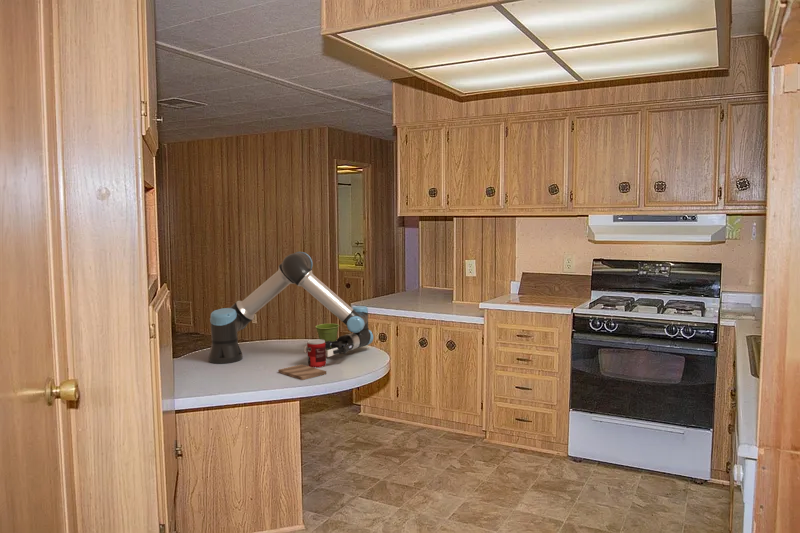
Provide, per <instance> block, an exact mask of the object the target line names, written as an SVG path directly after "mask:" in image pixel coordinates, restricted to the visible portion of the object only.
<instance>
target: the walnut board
mask: <svg viewBox="0 0 800 533" xmlns="http://www.w3.org/2000/svg"><path fill="white" fill-rule="evenodd" d="M278 374H282V375H285V376H289V377H291V378H295V379H298V380H301V381H304V380H308V379H309V380H310V379H312V378H316V377H320V375H321V376H325V375H327V370H323V369H320V368H318V367H316V368H315V367H310V366H309V365H306V364H297V365H294V366H289V367H288V366H287V367H283V368H279V369H278ZM324 374H325V375H324Z"/></svg>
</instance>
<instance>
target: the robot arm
mask: <svg viewBox="0 0 800 533" xmlns="http://www.w3.org/2000/svg"><path fill="white" fill-rule="evenodd" d="M313 264H314V263H313V259H312V257H311V256H310V255H309V254H307V252H303V251H296V252H294V253H290V254H287V255H286V256H285V257H284V259H283V260H282V262H281V263H280V264H279V265H278V270H277V271H276V272H275V273H274V274H272V275H271V276H270V277H269V278H267V280H265V281H264V282H263V283H262V284H261V285H259V286H258V287H257V288H256V289H255V290H253V291H252V292H251V293H250V294H249V295H247V296H246V297H245V298H244V299H243V300H237V301H236V302H234V303H233V304H232V305H231V306H230V307H224V308H223V307H222V308H219V309H215V310H213V311H212V312H211V313H210V318H209V322H210V332H211V334H210V336H211V348H210V351H209V354H208V362H209V363H211V364H229V363H236V362H239V361H241V360H242V359H243V352H242V350H241V347H240V345H239V340H238V339H239V338H238V332H240V331H242V330H243V329H245V328H246V327H247V326H248V324H249V323H250V322H252V321H253V320H254V318H255V314H256V313H258V312H259V311H260V310H261V309H262V308H263V307H265V306H266V305H267V304H269V302H270V301H272V300H273V299H274V298H275V297H276V296H278V295H279V294H280V293H281V292H283V290H285V289H286V288H287V287H289V285H292V284H293V285H296V286H297V287H302V288H303V289H304V290H305V291H306V292H307V293H308V294H310V295H311V296H312V297H313V298H315V300H317V301H318V302H319V303H320V304H321V305H323V307H325V308H326V309H327V310H328V311H329V312H331V314H333V315H334V316H335V317H337V319H339V321H341V322H343V324H344V325H345V326H346V327H347V330H348V331H349V332H350V333H348V334H347V333H346V334H344V335H341V336H339V337H338V338H337V339H336V341H332V342H331V341H325V349H326V358H329V357H333V356H336V355H341V354H343V355H345V354H347V353H348V352H349V351H354V350H355V349H358V348H362V347H366V346H369V345H371V344H372V343H373V341H374V334H373V332H372V330H370V329H369V308H368V306H365V305H356V306H353V307H351V306H350V305H349V304H348V303H347V302H345V301H344V300H343V299H342V298H341V297H339V295H337V294H336V292H334V291H333V290H332V289H330V288H329V286H327V285H326V284H325V283H324V282H323V281H321V279H319V278H317V276H315V274H313V270H312V268H313ZM330 346H331V347H332V348H330ZM303 349H304V350H303V351H304V354H308V351H307V345H306V346H304V348H303Z"/></svg>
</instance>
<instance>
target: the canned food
mask: <svg viewBox="0 0 800 533" xmlns="http://www.w3.org/2000/svg"><path fill="white" fill-rule="evenodd" d="M306 346H307V351H308V353H307V363H308V365H307V366H310V367H313V368H315V367H316V368H323V367H325V366H326V365H327V349H325V340H322V339H319V338H317V339H310V340H307V343H306ZM322 366H323V367H322Z"/></svg>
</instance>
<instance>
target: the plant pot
mask: <svg viewBox="0 0 800 533" xmlns="http://www.w3.org/2000/svg"><path fill="white" fill-rule="evenodd" d="M339 327H340V324H338V323H320V324H317V325H315V328H316V332H317V335H318V339H322V340H325V341H331V342H332V341H337V339H338V338H337V337H338V331H339ZM330 348H332V347H331V346H330Z"/></svg>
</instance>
